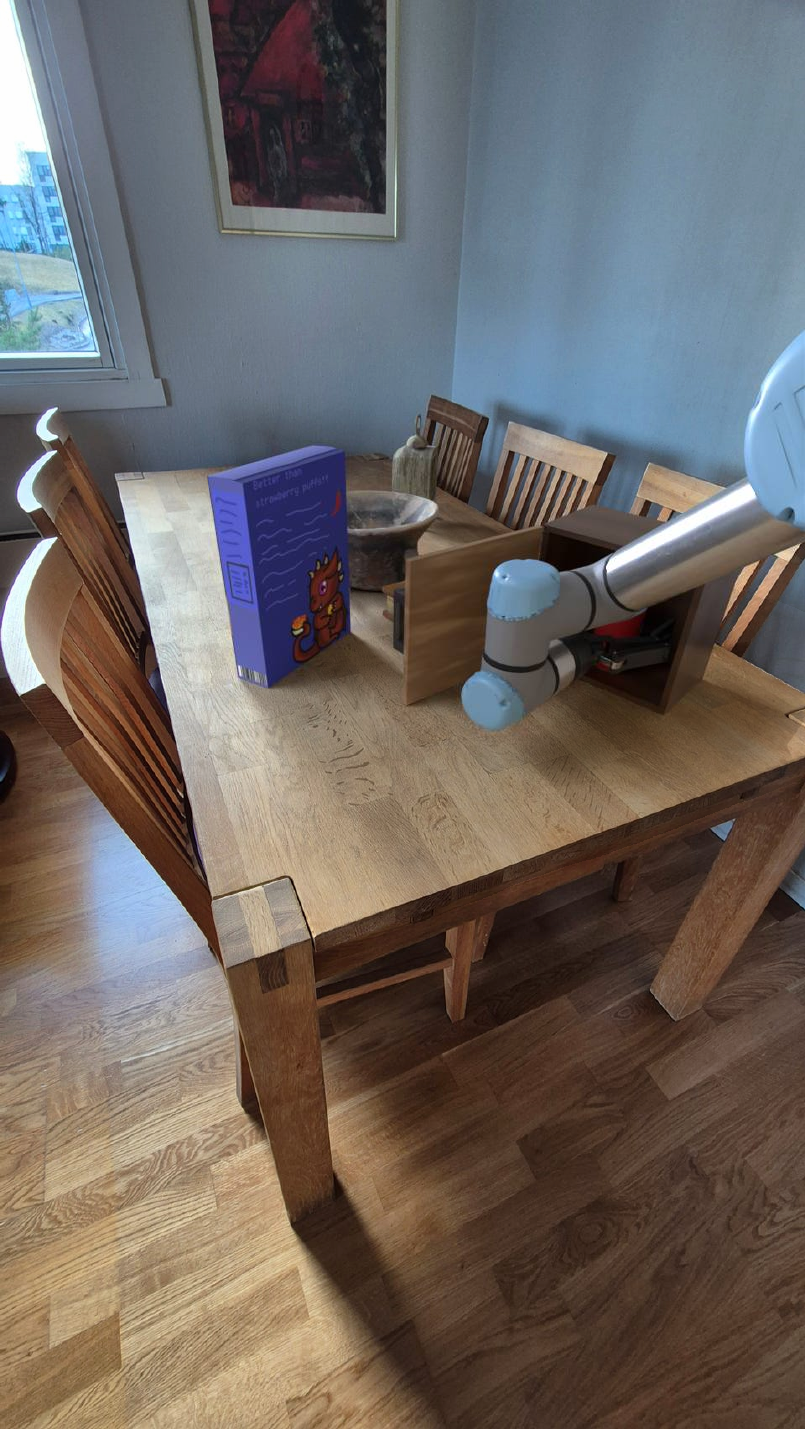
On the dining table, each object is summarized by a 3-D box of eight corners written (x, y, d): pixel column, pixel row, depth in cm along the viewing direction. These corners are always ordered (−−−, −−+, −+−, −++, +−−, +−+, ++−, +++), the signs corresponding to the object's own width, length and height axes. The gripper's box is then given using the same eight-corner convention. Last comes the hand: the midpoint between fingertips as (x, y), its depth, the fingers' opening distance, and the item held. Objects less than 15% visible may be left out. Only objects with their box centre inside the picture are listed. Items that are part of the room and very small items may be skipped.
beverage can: (640, 668, 98) (660, 598, 91) (609, 679, 96) (626, 607, 89) (609, 650, 103) (626, 581, 96) (578, 659, 100) (593, 589, 93)
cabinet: (663, 715, 90) (709, 569, 77) (524, 656, 103) (543, 523, 90) (702, 679, 98) (749, 542, 85) (568, 629, 111) (592, 504, 99)
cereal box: (323, 623, 111) (312, 443, 94) (350, 631, 109) (344, 449, 92) (238, 677, 96) (206, 474, 79) (268, 688, 94) (242, 481, 76)
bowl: (328, 550, 141) (325, 482, 132) (445, 561, 137) (449, 491, 128) (287, 599, 119) (280, 521, 111) (424, 613, 115) (427, 533, 107)
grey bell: (427, 532, 153) (431, 421, 138) (390, 529, 154) (391, 419, 140) (435, 514, 164) (440, 410, 150) (401, 512, 166) (403, 408, 151)
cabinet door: (381, 686, 94) (381, 546, 82) (497, 643, 106) (512, 515, 94) (406, 705, 90) (410, 561, 78) (523, 658, 102) (543, 526, 90)
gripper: (476, 653, 92) (554, 610, 105) (633, 723, 78) (701, 663, 91) (480, 606, 88) (561, 567, 101) (648, 671, 74) (717, 616, 87)
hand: (628, 613), depth 96 cm, fingers open, 13 cm apart
